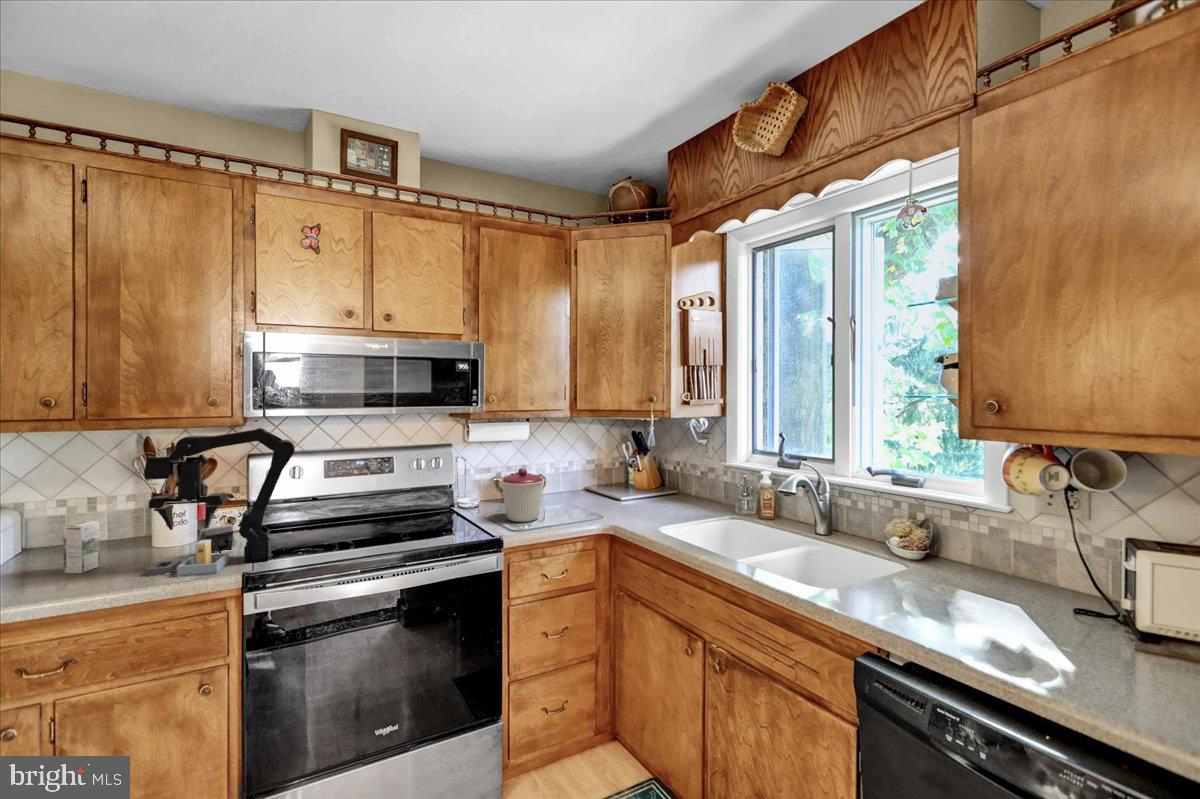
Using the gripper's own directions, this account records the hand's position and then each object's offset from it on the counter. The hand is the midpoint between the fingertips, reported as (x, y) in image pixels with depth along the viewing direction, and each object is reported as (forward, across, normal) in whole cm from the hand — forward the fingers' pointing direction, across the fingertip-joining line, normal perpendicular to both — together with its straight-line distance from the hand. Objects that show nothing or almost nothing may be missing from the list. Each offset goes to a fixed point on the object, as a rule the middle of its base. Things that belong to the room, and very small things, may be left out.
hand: (189, 528), depth 166 cm
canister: (+11, -107, -26) cm, 111 cm away
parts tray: (+12, -4, +3) cm, 13 cm away
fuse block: (+12, +6, 0) cm, 14 cm away
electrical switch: (+12, -3, -14) cm, 19 cm away
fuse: (+12, -4, +3) cm, 13 cm away
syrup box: (+13, +30, -8) cm, 34 cm away
